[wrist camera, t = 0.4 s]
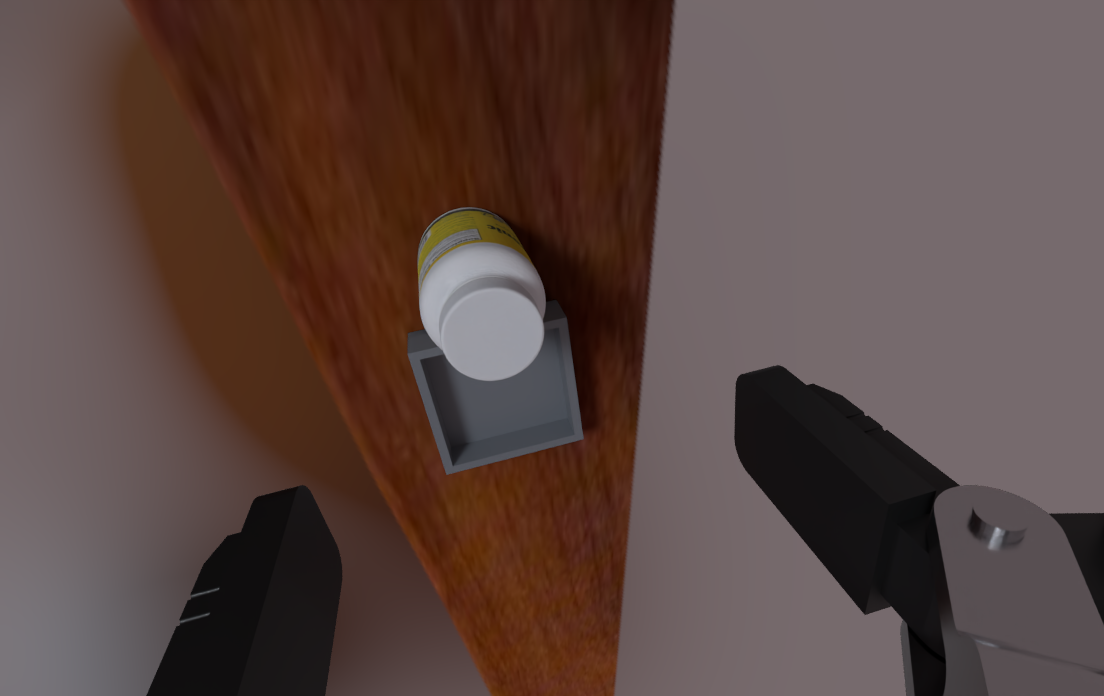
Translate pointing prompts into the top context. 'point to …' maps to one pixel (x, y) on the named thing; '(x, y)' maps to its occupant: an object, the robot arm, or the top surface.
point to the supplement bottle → (480, 294)
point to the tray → (499, 401)
